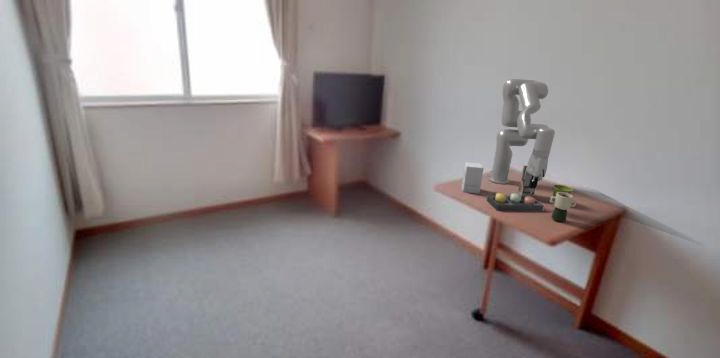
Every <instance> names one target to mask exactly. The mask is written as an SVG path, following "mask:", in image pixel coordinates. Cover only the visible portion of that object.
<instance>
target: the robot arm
mask: <svg viewBox="0 0 720 358" xmlns="http://www.w3.org/2000/svg"><path fill="white" fill-rule="evenodd" d="M548 94H549V88H548V85H547V84H546V83H544V82H542V81H538V80H533V79H523V78H522V79H521V78H511V79H508V80H506V81H505V82H504V84H503V86H502V99H503V101H502V102H503V105H502V112H501V113H502V114H501V125H502V126H503V127H506V128H504V129H500V130H499V131H497V133H496V147H495V152H494V153H495V154H494V158H493V163H492V164H493V165H492V169H491V170H490V175H489V176H488V177H487V180H488V181H490V182H491V183H492V182H493V183H495V184H500V185H506V184H509V183H510V182H511V181H510V179H509V178H508V177H509V173H510V168H511V164H512V158H513V151H512V149H511V147H524V146H526V145H527V144H528V143H529V142H528V141H529V140H534V144H533V149H532V153H531V154H530V156H529V159H528V162H527V165H526V166H527V168H526V171H527V172H528V173H529V174H530V183H529V187H530V188H535V189H536V188H537V187H538V186H537V185H538V182H539V181H543V178H544V177H546V173H547V170H548V163H549V157H550V153H551V149H552V146H553V141H554V138H555V133H556V131H555V129H553V128H550V126H548V125H547V124H538V123H537V124H536V123H532V122H531V121H532V118H531V115H532V114H533V115H534V114H535V113H537V112H538V111H539V110H540V109H541V101H540V100H544V99H545V98H547V96H548ZM518 96H519V98H520V100H519V98H518ZM520 102H521V108H522V110H519V108H520ZM511 128H517V129H511Z"/></svg>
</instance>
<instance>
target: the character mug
mask: <svg viewBox="0 0 720 358" xmlns="http://www.w3.org/2000/svg"><path fill="white" fill-rule="evenodd" d="M553 199H555V201H553ZM577 202H578V201H577V200H576V199H574V196H573V195H572V193H570V194H568V193H564V192H558V193H557V194H556V197H553V195H552V196H550V200H549V203H551V204H553V207H555V208H554V209H553V212H552V214H551V218H552V219H553V220H554V221H557V222H562V223H564V222H566V221H567V213H568V210H570V209H571V207H573V208H575V207H576V205H577ZM572 203H573V204H572Z"/></svg>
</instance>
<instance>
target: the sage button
mask: <svg viewBox="0 0 720 358" xmlns="http://www.w3.org/2000/svg"><path fill="white" fill-rule="evenodd" d="M510 196H511V197H510V201H511V202H512V203H520V201H521V197H522V196H521V195H520V194H519V193H518V192H517V193H516V192H512V193H511V194H510Z"/></svg>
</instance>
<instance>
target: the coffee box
mask: <svg viewBox="0 0 720 358" xmlns="http://www.w3.org/2000/svg"><path fill="white" fill-rule="evenodd" d="M522 166H523V167H522V172H521V176H520V181H519V186H518V190H517V191H518V192H517V194H520V195H521V196H531V197H534V195H535V191H536V188H530V187H529V183H530V174H529V173H528V172H527V171H526V168H527V165H522Z"/></svg>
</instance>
